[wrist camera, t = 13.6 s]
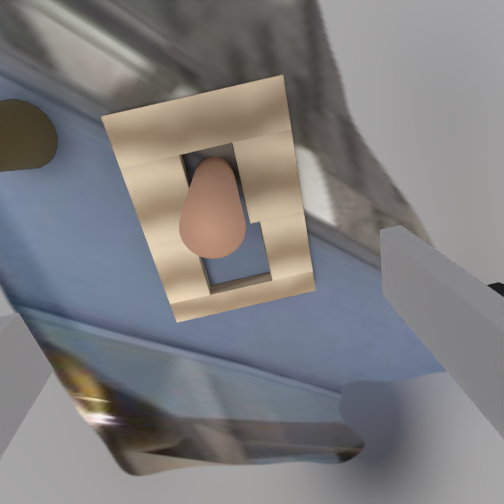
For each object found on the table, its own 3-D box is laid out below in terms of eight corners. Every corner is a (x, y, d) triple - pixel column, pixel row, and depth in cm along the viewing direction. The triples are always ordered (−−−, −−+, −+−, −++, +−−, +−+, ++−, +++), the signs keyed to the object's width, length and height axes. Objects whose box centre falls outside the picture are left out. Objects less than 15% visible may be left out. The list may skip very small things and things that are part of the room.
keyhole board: (107, 115, 31) (101, 116, 29) (279, 76, 31) (283, 74, 29) (178, 312, 40) (176, 322, 38) (311, 281, 40) (315, 290, 38)
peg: (189, 161, 33) (170, 204, 20) (229, 152, 33) (237, 189, 20) (200, 200, 35) (189, 264, 21) (238, 191, 35) (251, 250, 21)
